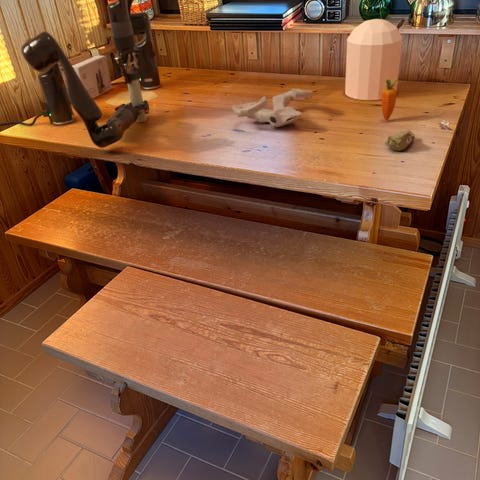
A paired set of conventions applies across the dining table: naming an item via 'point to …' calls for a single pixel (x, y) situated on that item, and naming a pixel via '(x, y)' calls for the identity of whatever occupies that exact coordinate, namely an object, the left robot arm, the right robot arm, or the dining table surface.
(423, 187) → the dining table surface
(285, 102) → the beige irregular branched piece
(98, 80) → the skincare box
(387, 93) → the carrot
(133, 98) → the jar
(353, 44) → the container
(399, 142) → the rock
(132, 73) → the lid
